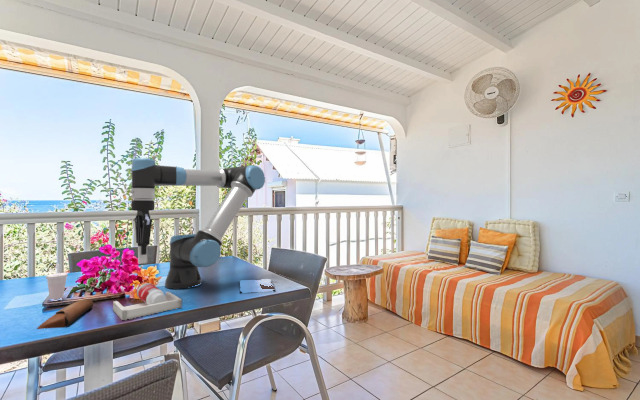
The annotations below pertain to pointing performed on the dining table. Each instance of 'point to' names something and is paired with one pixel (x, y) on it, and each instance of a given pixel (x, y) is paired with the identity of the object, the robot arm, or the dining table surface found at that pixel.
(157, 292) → the pill bottle
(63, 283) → the smoothie
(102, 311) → the dining table surface
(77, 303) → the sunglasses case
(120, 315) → the tray
